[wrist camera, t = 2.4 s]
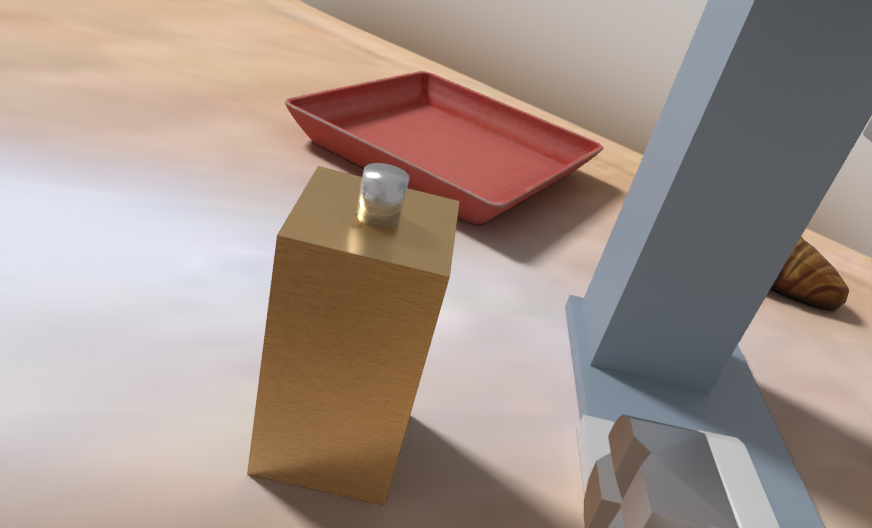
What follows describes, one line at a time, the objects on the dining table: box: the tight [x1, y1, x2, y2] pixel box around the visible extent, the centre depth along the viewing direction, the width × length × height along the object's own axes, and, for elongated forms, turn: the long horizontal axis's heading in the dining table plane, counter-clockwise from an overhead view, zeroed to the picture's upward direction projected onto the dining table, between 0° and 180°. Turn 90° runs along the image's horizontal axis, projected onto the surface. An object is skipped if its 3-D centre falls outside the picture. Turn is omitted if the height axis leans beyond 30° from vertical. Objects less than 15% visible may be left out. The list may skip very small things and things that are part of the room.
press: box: [565, 0, 872, 528], centre depth 24 cm, size 19×10×26 cm, turn 175°
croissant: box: [771, 237, 849, 310], centre depth 48 cm, size 14×7×5 cm, turn 51°
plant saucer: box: [285, 71, 604, 225], centre depth 52 cm, size 18×18×3 cm
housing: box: [247, 163, 459, 505], centre depth 24 cm, size 5×5×12 cm
